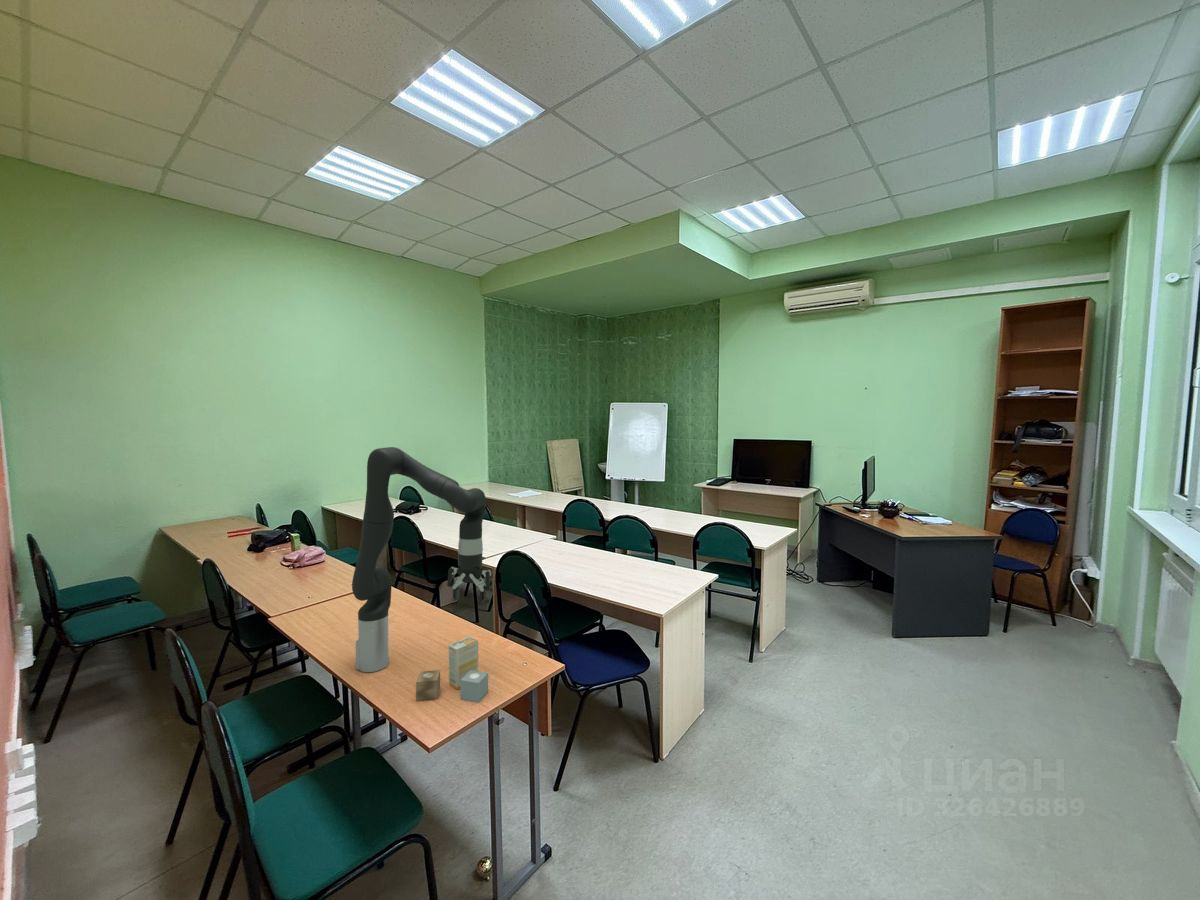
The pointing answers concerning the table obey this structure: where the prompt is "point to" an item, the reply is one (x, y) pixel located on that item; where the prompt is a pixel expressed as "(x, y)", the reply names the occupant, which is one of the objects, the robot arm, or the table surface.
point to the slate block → (474, 686)
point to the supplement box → (462, 659)
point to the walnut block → (428, 685)
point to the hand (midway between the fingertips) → (469, 600)
